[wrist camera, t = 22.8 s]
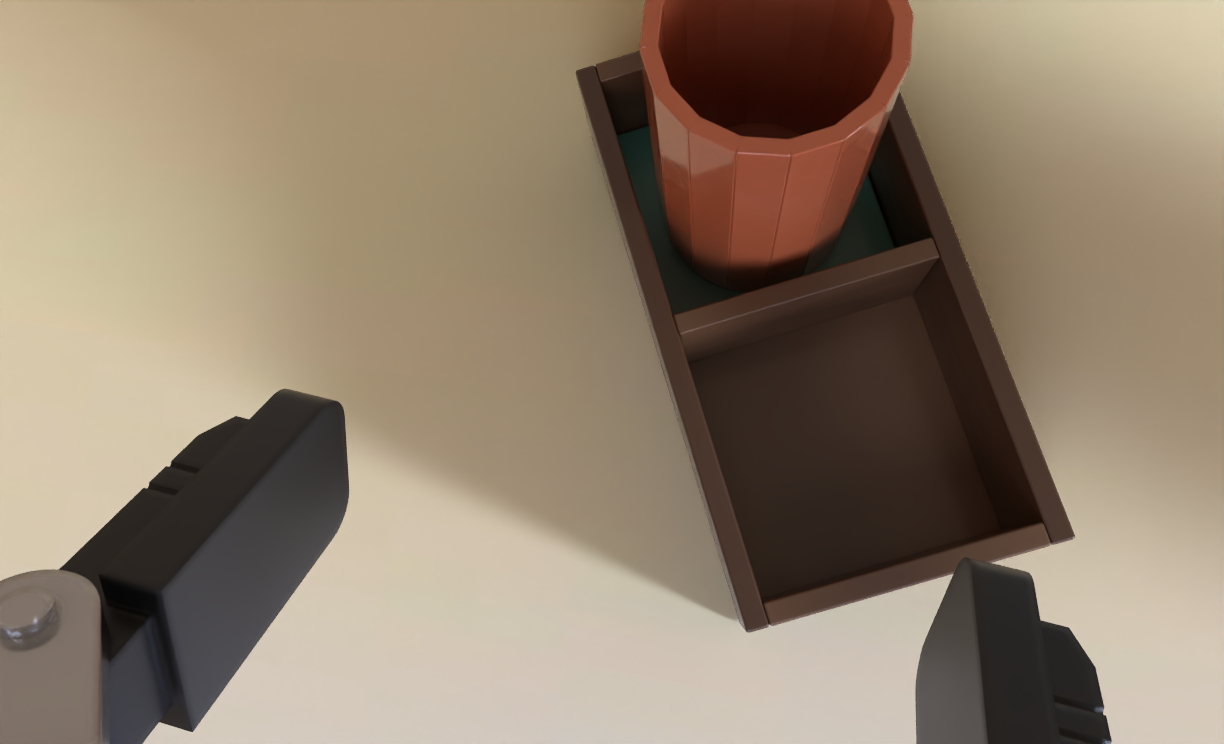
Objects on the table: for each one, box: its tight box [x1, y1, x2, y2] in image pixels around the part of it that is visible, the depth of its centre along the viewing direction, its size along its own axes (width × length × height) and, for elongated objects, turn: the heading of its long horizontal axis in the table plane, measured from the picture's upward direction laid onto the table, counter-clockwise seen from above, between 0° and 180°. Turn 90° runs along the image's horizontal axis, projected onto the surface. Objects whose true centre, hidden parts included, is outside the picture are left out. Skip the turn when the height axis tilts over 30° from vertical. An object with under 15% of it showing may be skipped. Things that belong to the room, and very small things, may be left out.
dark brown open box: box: [576, 51, 1075, 633], centre depth 27 cm, size 8×16×4 cm, turn 16°
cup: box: [639, 0, 913, 292], centre depth 25 cm, size 6×6×10 cm
